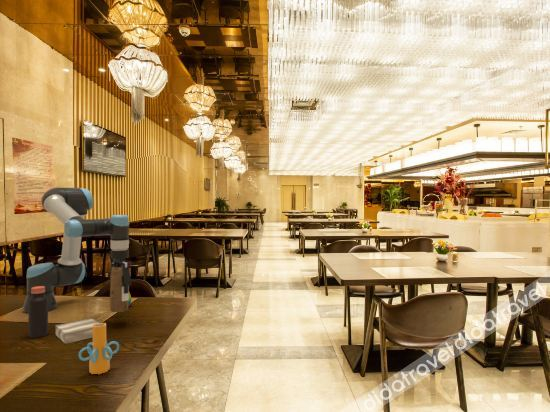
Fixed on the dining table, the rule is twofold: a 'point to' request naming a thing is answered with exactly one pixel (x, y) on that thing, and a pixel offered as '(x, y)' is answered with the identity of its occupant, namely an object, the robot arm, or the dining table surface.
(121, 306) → the brown river rock
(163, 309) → the dining table surface
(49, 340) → the dining table surface
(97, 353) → the orange vase with handles
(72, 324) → the platform
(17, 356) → the dining table surface
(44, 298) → the bottle
